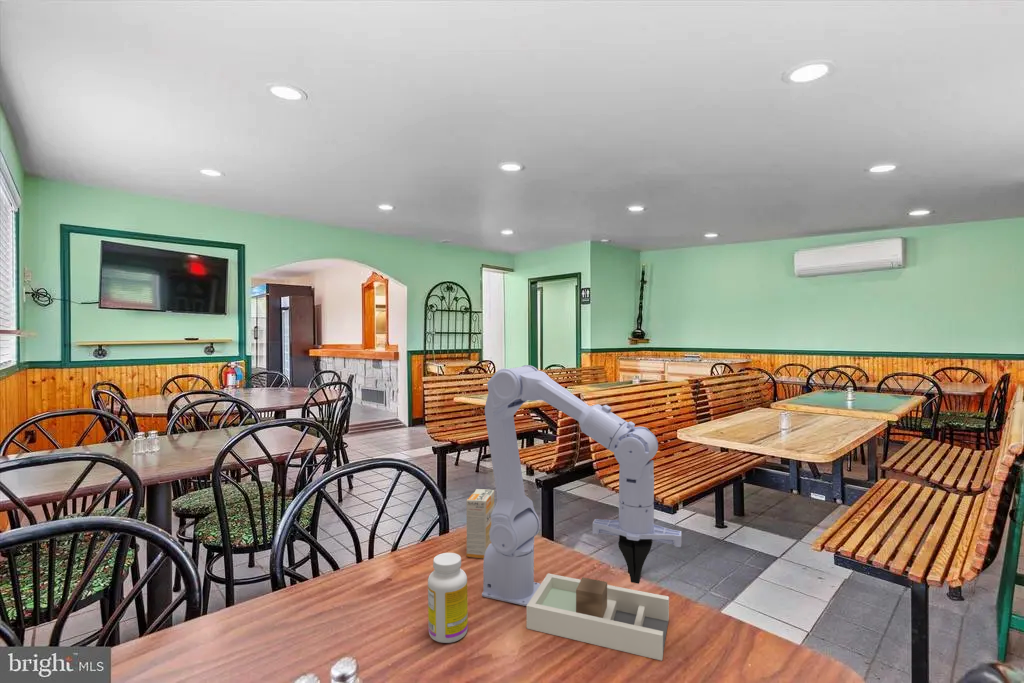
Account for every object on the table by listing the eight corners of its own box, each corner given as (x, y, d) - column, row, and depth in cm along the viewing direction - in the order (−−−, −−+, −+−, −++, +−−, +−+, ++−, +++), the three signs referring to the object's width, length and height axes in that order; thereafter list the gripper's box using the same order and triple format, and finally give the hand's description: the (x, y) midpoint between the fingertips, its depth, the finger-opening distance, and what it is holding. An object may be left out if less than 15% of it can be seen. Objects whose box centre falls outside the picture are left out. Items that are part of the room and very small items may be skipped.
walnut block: (575, 614, 88) (576, 589, 88) (582, 601, 92) (582, 577, 92) (601, 620, 86) (601, 594, 86) (607, 606, 90) (607, 581, 90)
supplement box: (486, 559, 113) (486, 501, 112) (465, 557, 114) (465, 499, 113) (495, 543, 121) (495, 489, 120) (475, 541, 122) (475, 487, 121)
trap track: (526, 628, 87) (526, 605, 87) (547, 593, 99) (547, 573, 98) (662, 660, 79) (662, 635, 79) (668, 618, 90) (668, 596, 90)
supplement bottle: (473, 625, 88) (473, 553, 88) (457, 648, 82) (457, 570, 82) (439, 618, 91) (438, 547, 90) (421, 640, 84) (420, 564, 84)
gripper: (588, 503, 84) (588, 583, 85) (679, 515, 79) (679, 601, 80) (597, 490, 91) (597, 564, 92) (682, 500, 86) (681, 579, 86)
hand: (635, 580), depth 86 cm, fingers closed
